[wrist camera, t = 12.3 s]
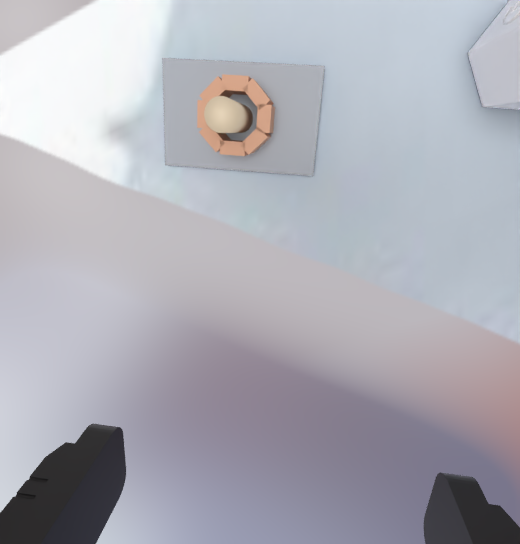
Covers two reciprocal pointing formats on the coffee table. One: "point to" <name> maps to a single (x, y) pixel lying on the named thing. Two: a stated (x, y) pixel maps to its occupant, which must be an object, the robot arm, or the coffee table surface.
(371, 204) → the coffee table surface
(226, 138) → the ring
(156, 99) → the coffee table surface
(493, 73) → the jar
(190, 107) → the post block
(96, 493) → the robot arm
